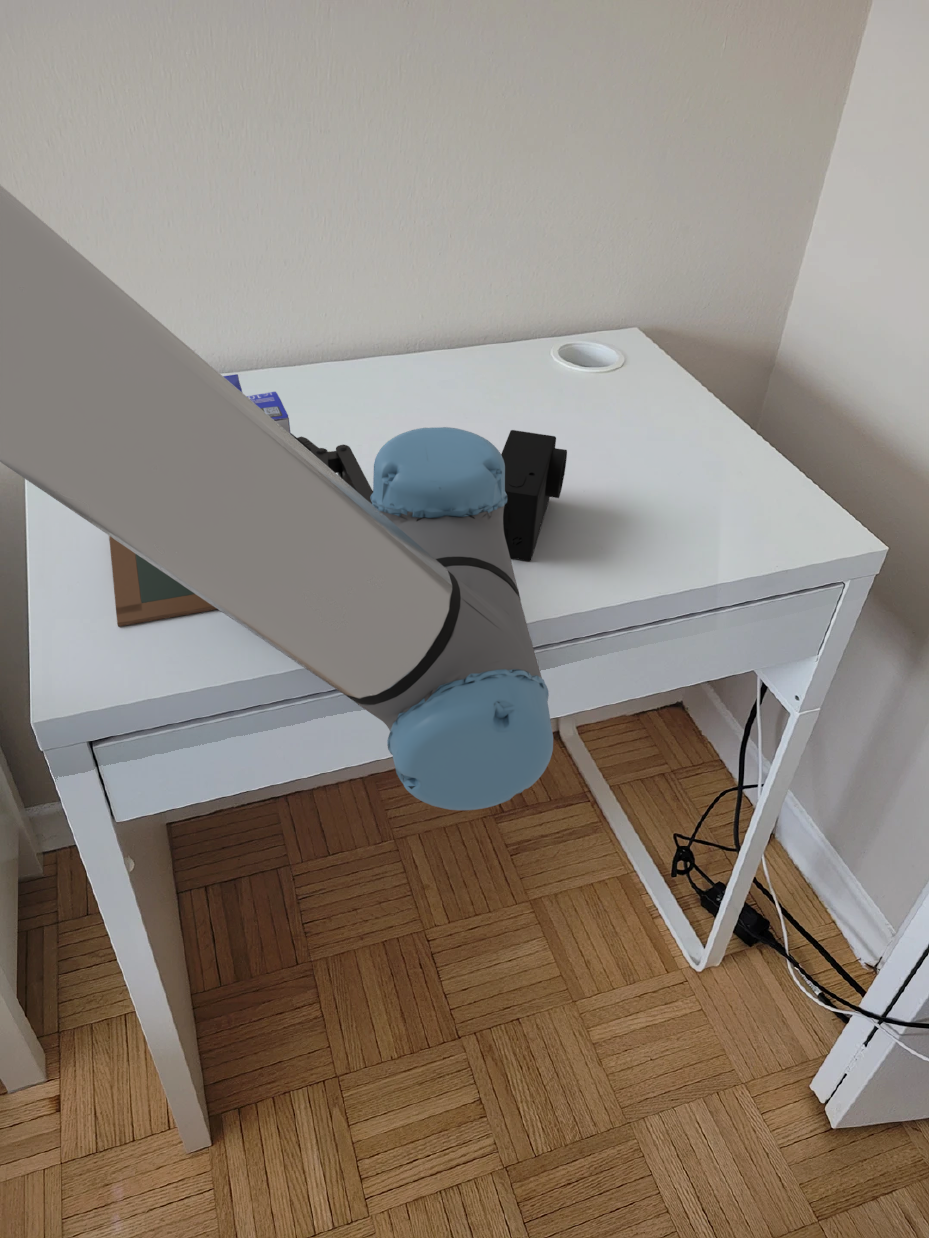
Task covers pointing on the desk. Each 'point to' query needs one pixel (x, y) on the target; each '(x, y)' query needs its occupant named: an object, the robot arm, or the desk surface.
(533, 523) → the digital camera
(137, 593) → the chalkboard
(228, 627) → the desk surface
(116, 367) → the robot arm
